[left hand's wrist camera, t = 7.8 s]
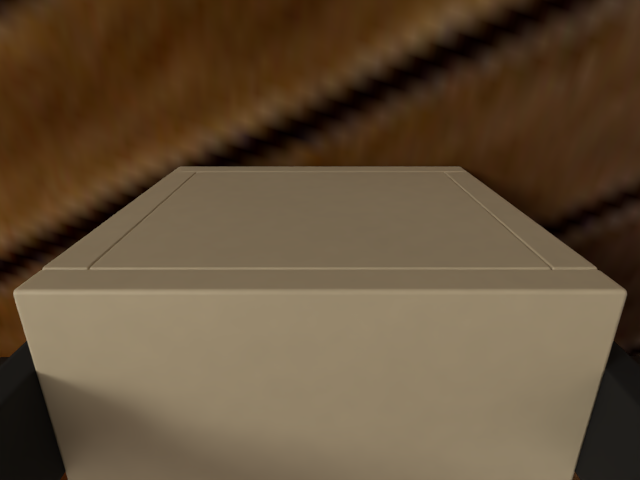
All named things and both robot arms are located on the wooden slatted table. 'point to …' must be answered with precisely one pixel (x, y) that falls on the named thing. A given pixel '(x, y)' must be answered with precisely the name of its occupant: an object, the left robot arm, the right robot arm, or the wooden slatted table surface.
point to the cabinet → (320, 332)
